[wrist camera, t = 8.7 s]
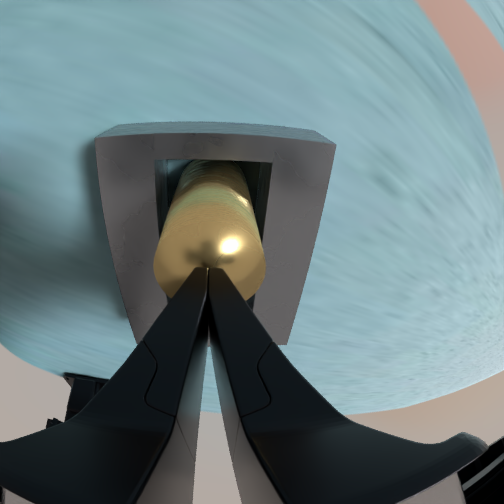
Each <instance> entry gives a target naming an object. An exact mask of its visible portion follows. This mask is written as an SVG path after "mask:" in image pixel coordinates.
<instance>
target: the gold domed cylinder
mask: <svg viewBox="0 0 504 504" xmlns="http://www.w3.org/2000/svg"><path fill="white" fill-rule="evenodd" d="M153 267H154V274H155V277H156V280H157V282H158V284H159V286H160V287H161V289H162V290H163V291H164V292H165V293H166V294H167V295H168V296H169V297H170V298H172V297H173V296H174V294H175V293H176V292H177V290H178V289H179V288H180V286H181V285H182V284H183V282H184V281H185V280H186V278H187V277H188V276H189V274H190V273H191V272H192V271H193V269H194V268H195V267H207V268H208V269H209V268H210V267H221V268H223V269H224V270H225V272H226V273H227V275H228V276H229V278H230V279H231V281H232V282H233V284H234V285H235V286H236V288H237V289H238V291H239V292H240V294H241V295H242V297H243V298H244V299H245V301H246V300H248V299H249V298H250V297H251V296H252V295H254V294H255V293H256V291H257V290H258V289H259V287H260V286H261V284H262V282H263V280H264V277H265V273H266V261H265V257H264V252H263V248H262V244H261V240H260V236H259V231H258V227H257V223H256V219H255V215H254V211H253V207H252V202H251V198H250V194H249V190H248V186H247V182H246V178H245V175H244V173H243V171H242V170H241V168H240V167H239V166H238V165H237V164H236V163H235V162H233V161H232V160H204V159H196V160H194V161H193V162H191V163H190V164H189V165H188V166H187V167H186V168H185V170H184V171H183V173H182V175H181V177H180V180H179V183H178V185H177V188H176V191H175V194H174V197H173V200H172V203H171V206H170V208H169V211H168V214H167V218H166V221H165V224H164V227H163V230H162V233H161V236H160V240H159V243H158V246H157V250H156V253H155V257H154V263H153Z"/></svg>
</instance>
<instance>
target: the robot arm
mask: <svg viewBox="0 0 504 504" xmlns="http://www.w3.org/2000/svg"><path fill="white" fill-rule="evenodd" d="M208 338H209V339H210V347H211V353H212V359H213V366H214V372H215V378H216V383H217V389H218V395H219V400H220V406H221V411H222V416H223V421H224V426H225V431H226V436H227V441H228V446H229V451H230V455H231V459H232V462H233V468H234V473H235V477H236V481H237V486H238V490H239V494H240V497H241V502H242V504H504V436H502V437H501V438H500V439H498V440H497V441H495V442H494V443H492V444H490V445H489V446H488V445H487V444H486V443H485V442H484V441H483V440H481V439H479V438H478V437H475V436H473V435H470V434H468V433H465V432H461V433H459V434H457V435H455V436H453V437H451V438H449V439H448V440H446V441H444V442H441V443H436V444H423V443H418V442H414V441H410V440H407V439H403V438H400V437H397V436H393V435H390V434H387V433H384V432H381V431H378V430H375V429H372V428H369V427H366V426H364V425H361V424H358V423H356V422H353V421H351V420H350V419H348V418H346V417H345V416H343V415H342V414H341V413H340V412H338V411H337V410H336V409H335V408H334V407H333V406H332V405H331V404H330V403H329V402H328V401H327V400H326V399H325V398H324V397H323V396H322V395H321V394H320V393H319V392H318V391H317V390H316V389H315V388H314V387H313V386H312V385H311V384H310V383H309V382H308V381H307V380H306V379H305V378H304V377H303V376H302V375H301V374H300V373H299V372H298V370H297V369H296V368H295V367H294V366H293V365H292V364H291V363H290V361H289V360H288V359H287V358H286V356H285V355H284V354H283V352H282V351H281V350H280V348H279V347H278V346H277V344H276V343H275V342H273V339H272V338H271V336H270V335H269V333H268V332H267V331H266V329H265V328H264V326H263V325H262V324H261V322H260V321H259V319H258V318H257V317H256V315H255V314H254V312H253V311H252V309H251V308H250V307H249V305H248V304H247V302H246V301H245V299H244V298H243V297H242V295H241V294H240V292H239V291H238V289H237V288H236V286H235V285H234V284H233V282H232V281H231V279H230V278H229V276H228V275H227V273H226V272H225V270H224V269H223V268H221V267H210V268H209V269H208V268H207V267H195V268H194V269H193V271H192V272H191V273H190V274H189V276H188V277H187V278H186V280H185V281H184V282H183V284H182V285H181V286H180V288H179V289H178V290H177V292H176V293H175V294H174V296H173V297H172V298H171V300H170V301H169V302H168V304H167V305H166V307H165V308H164V309H163V311H162V312H161V313H160V315H159V316H158V317H157V319H156V320H155V321H154V323H153V324H152V326H151V327H150V328H149V330H148V331H147V333H146V334H145V335H144V337H143V338H142V340H141V341H140V342H139V343H138V345H137V346H136V348H135V349H134V351H133V352H132V353H131V354H130V356H129V357H128V358H127V360H126V361H125V362H124V364H123V365H122V366H121V367H120V368H119V369H118V370H117V372H116V373H115V374H114V375H113V376H112V377H111V378H110V380H109V381H108V380H101V379H94V378H88V377H82V376H77V375H71V374H66V373H65V374H64V379H65V380H66V381H67V383H68V384H69V385H70V386H71V392H70V396H69V401H68V405H67V411H66V416H65V421H64V422H61V421H59V420H58V419H56V418H53V420H51V419H48V420H47V425H46V429H44V430H41V431H39V432H36V433H33V434H30V435H27V436H24V437H21V438H18V439H15V440H11V441H7V442H0V504H192V500H193V486H194V473H195V461H196V449H197V438H198V428H199V418H200V408H201V399H202V390H203V381H204V372H205V364H206V356H207V347H208Z"/></svg>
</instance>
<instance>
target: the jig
mask: <svg viewBox="0 0 504 504" xmlns="http://www.w3.org/2000/svg"><path fill="white" fill-rule="evenodd" d="M95 149H96V160H97V170H98V179H99V187H100V194H101V201H102V207H103V213H104V219H105V225H106V230H107V235H108V240H109V245H110V250H111V254H112V259H113V263H114V267H115V272H116V276H117V280H118V283H119V287H120V291H121V295H122V298H123V302H124V305H125V309H126V312H127V315H128V319H129V322H130V325H131V328H132V331H133V334H134V337H135V340H136V343H137V344H138V343H139V342H140V341H141V340H142V338H143V337H144V335H145V334H146V333H147V331H148V330H149V328H150V327H151V326H152V324H153V323H154V321H155V320H156V319H157V317H158V316H159V315H160V313H161V312H162V311H163V309H164V308H165V307H166V305H167V304H168V302H169V301H170V300H171V298H170V297H169V296H168V295H167V294H166V293H165V292H164V291H163V290H162V289H161V287H160V286H159V284H158V282H157V280H156V277H155V274H154V267H153V263H154V257H155V253H156V250H157V246H158V243H159V240H160V236H161V233H162V230H163V227H164V224H165V221H166V218H167V214H168V211H169V206H168V181H167V159H204V160H236V161H255V162H261V164H260V173H259V182H258V191H257V201H256V210H255V219H256V223H257V227H258V231H259V236H260V240H261V244H262V248H263V252H264V257H265V261H266V273H265V277H264V280H263V282H262V284H261V286H260V287H259V289H258V290H257V291H256V293H255V294H254V295H252V296H251V297H250V298H249V299H248V300H246V302H247V304H248V305H249V307H250V308H251V309H252V311H253V312H254V314H255V315H256V317H257V318H258V319H259V321H260V322H261V324H262V325H263V326H264V328H265V329H266V331H267V332H268V333H269V335H270V336H271V338H272V339H273V342H275V343H276V344H277V345H287V342H288V339H289V336H290V332H291V329H292V326H293V322H294V319H295V315H296V312H297V308H298V305H299V301H300V298H301V294H302V291H303V287H304V283H305V280H306V276H307V272H308V268H309V265H310V261H311V257H312V253H313V249H314V245H315V241H316V237H317V233H318V228H319V224H320V220H321V216H322V211H323V207H324V202H325V198H326V193H327V189H328V184H329V179H330V174H331V170H332V165H333V160H334V154H335V149H336V144H335V143H333V142H332V141H330V140H329V139H327V138H326V137H324V136H322V135H321V134H319V133H318V132H316V131H313V130H306V129H298V128H290V127H281V126H271V125H259V124H245V123H226V122H155V123H136V124H123V125H117V126H115V127H113V128H111V129H109V130H108V131H106V132H104V133H102V134H100V135H99V136H97V137H95ZM208 347H210V339H209V338H208Z"/></svg>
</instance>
